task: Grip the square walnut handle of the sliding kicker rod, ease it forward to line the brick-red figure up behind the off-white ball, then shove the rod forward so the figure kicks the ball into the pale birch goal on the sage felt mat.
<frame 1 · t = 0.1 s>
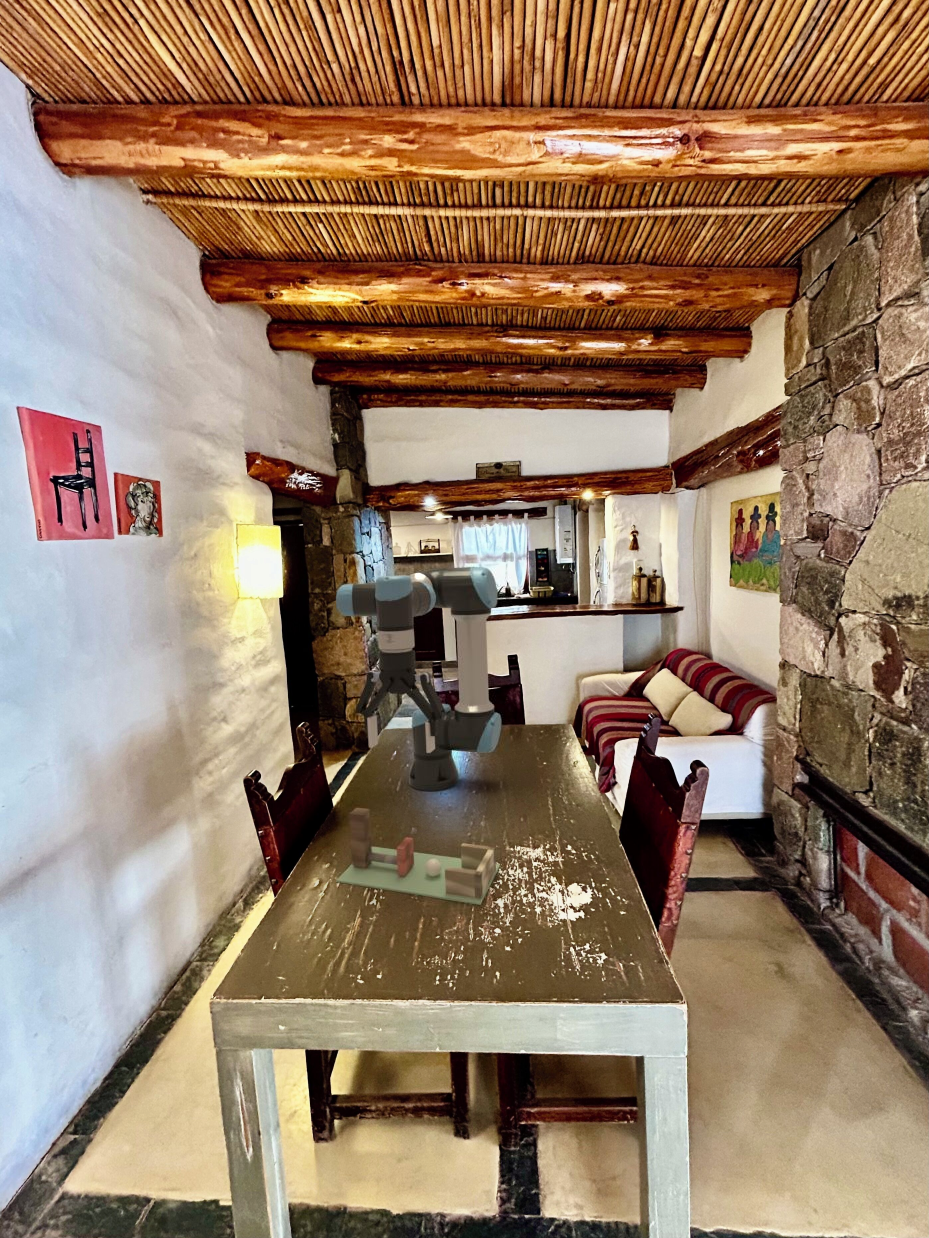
hand: (401, 748, 124), 28 cm above the table, fingers open, 13 cm apart
goal: (471, 882, 122), resting on mat
ball: (433, 867, 124), point 2 cm above the table, touching mat
kicker: (362, 866, 130), resting on mat, slide at 0.0 cm
mat: (419, 873, 126), on the table
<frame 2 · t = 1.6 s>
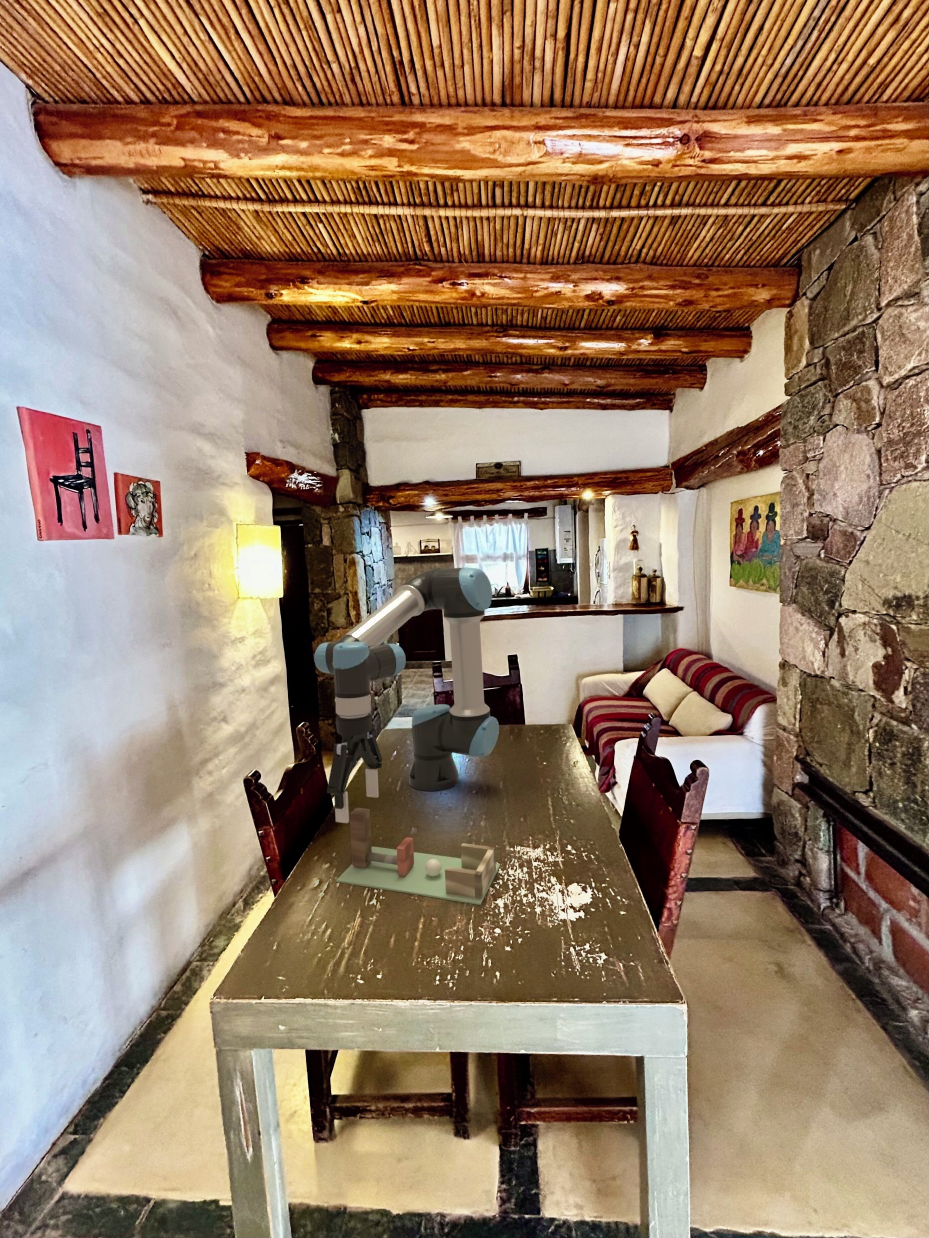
hand: (358, 808, 128), 14 cm above the table, fingers open, 13 cm apart
nothing on the table moved.
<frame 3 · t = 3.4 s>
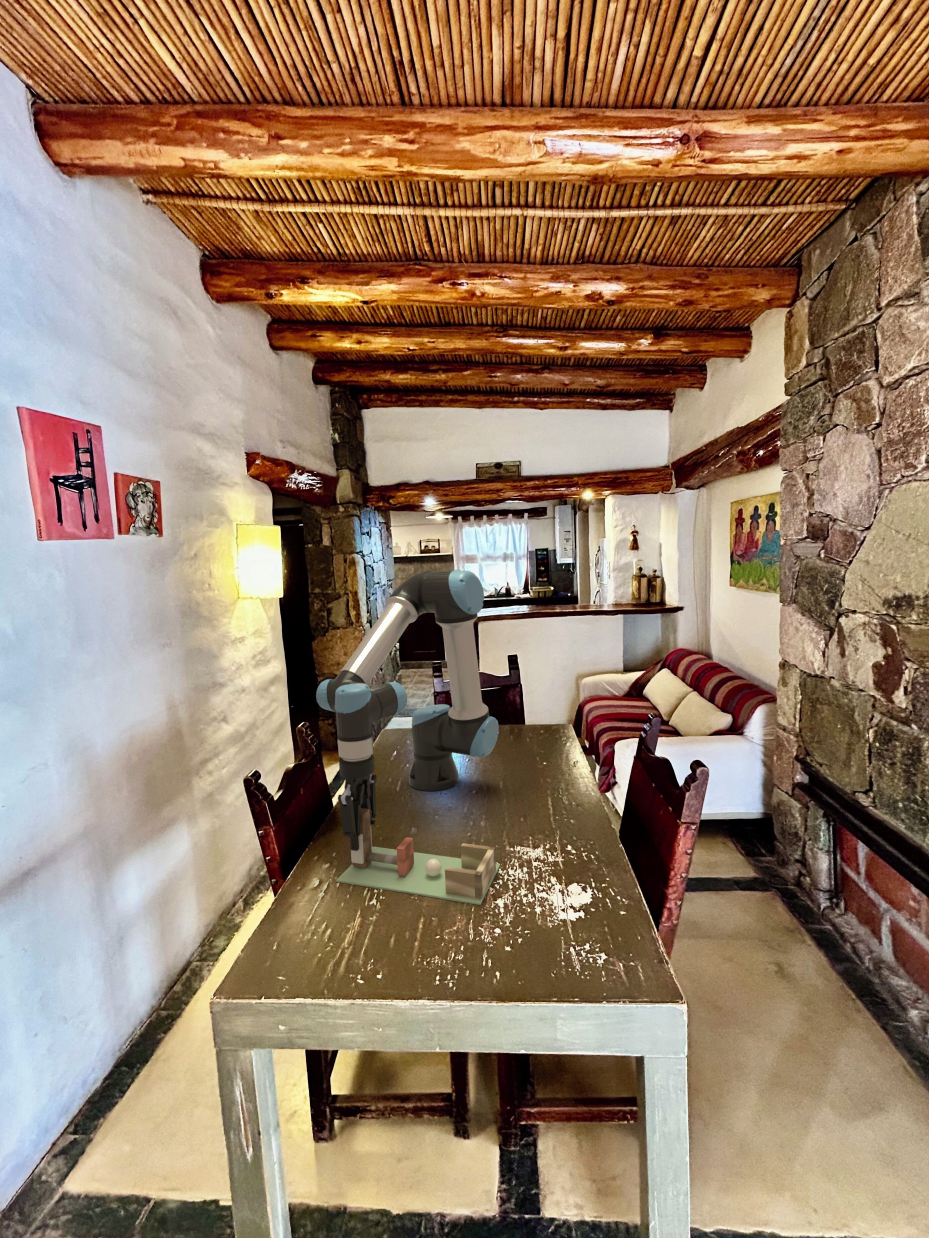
hand: (362, 857, 130), 2 cm above the table, fingers closed on kicker, 3 cm apart
kicker: (362, 866, 130), resting on mat, slide at 0.0 cm, touching gripper
everything else where it was.
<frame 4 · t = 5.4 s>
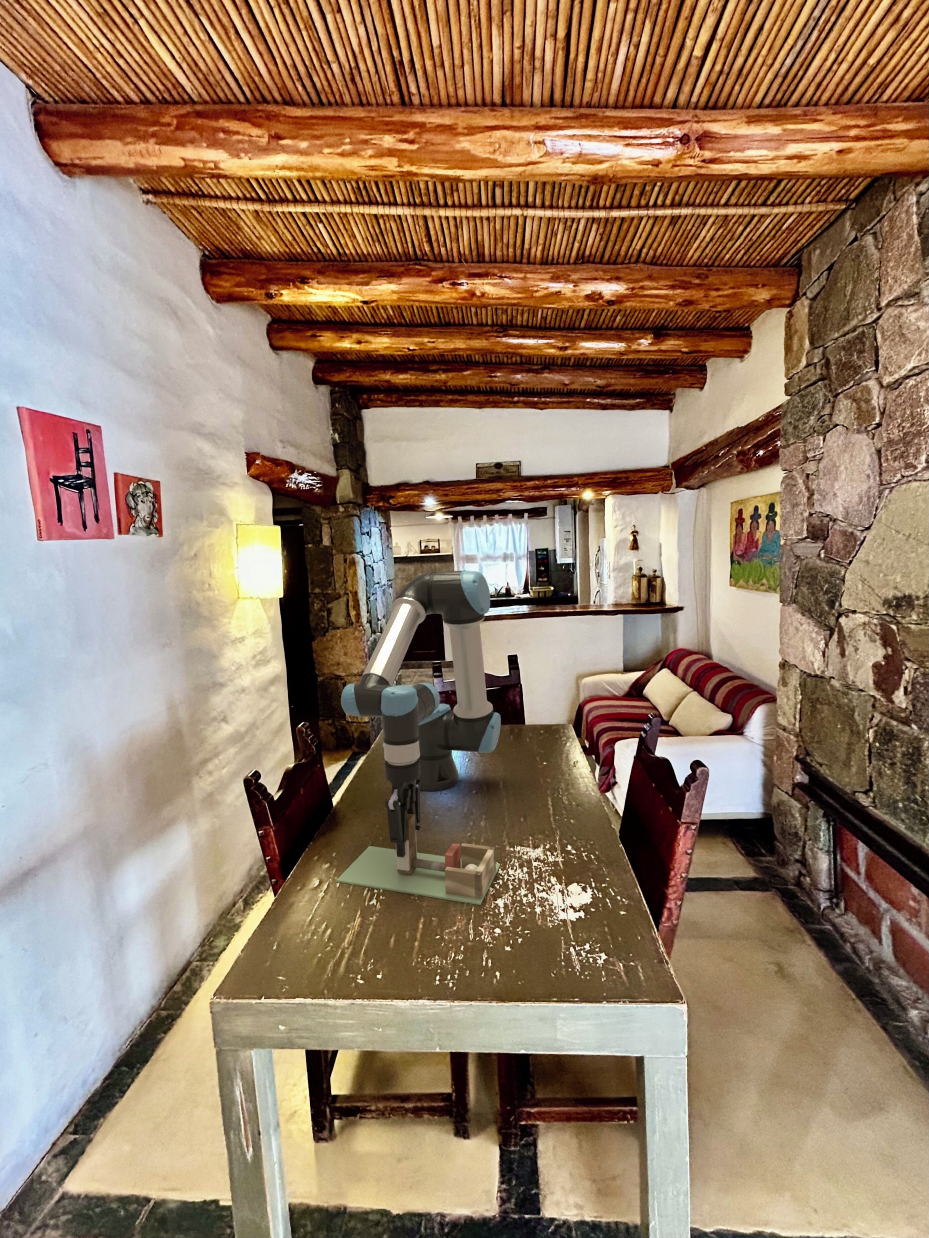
hand: (407, 864, 126), 2 cm above the table, fingers closed on kicker, 3 cm apart
ball: (471, 873, 122), point 2 cm above the table, tilted 91°, touching mat
kicker: (407, 873, 127), resting on mat, slide at 10.9 cm, touching gripper
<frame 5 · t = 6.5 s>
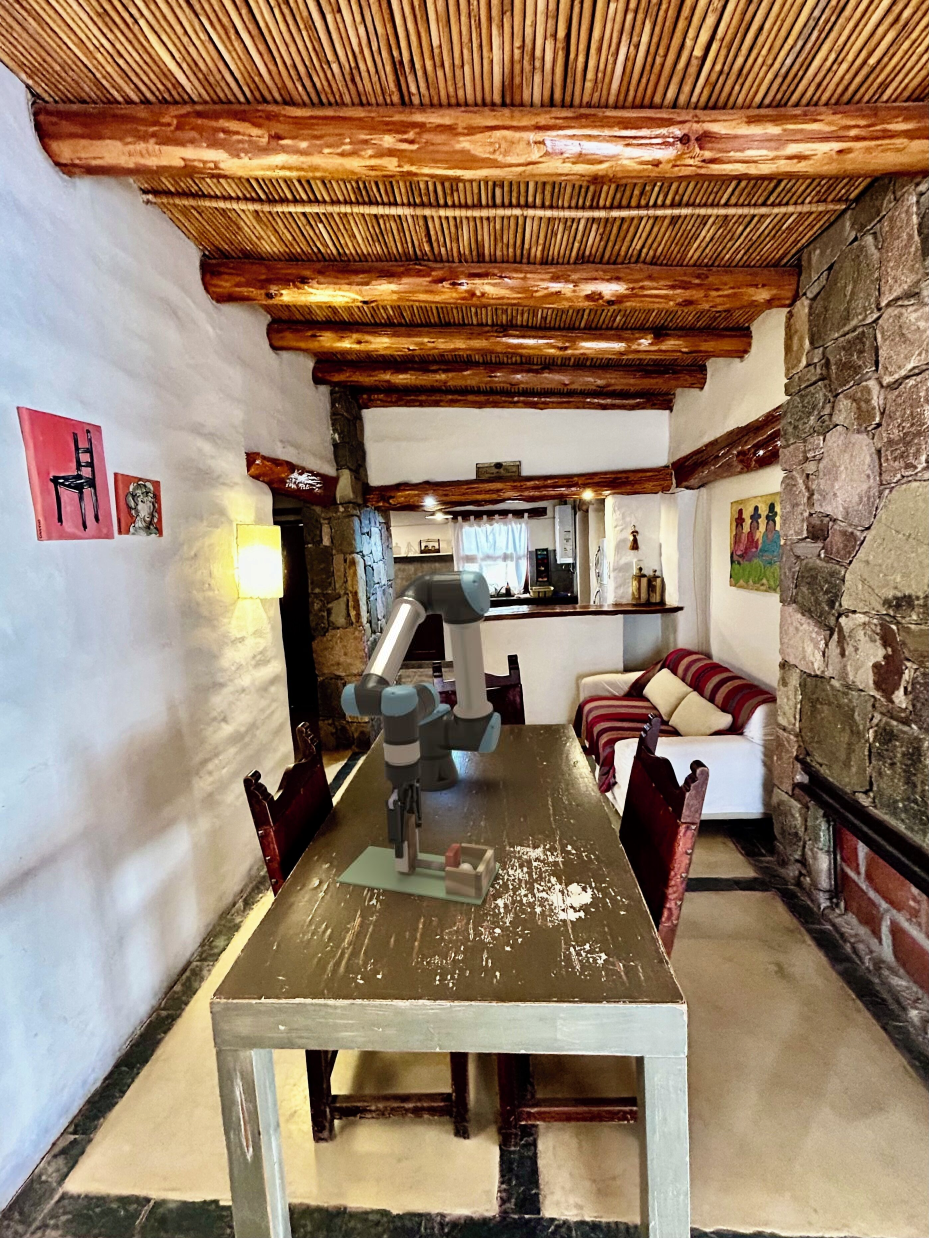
hand: (407, 863, 126), 2 cm above the table, fingers open, 5 cm apart
ball: (465, 872, 122), point 2 cm above the table, tilted 136°, touching mat
kicker: (407, 873, 127), resting on mat, slide at 10.9 cm
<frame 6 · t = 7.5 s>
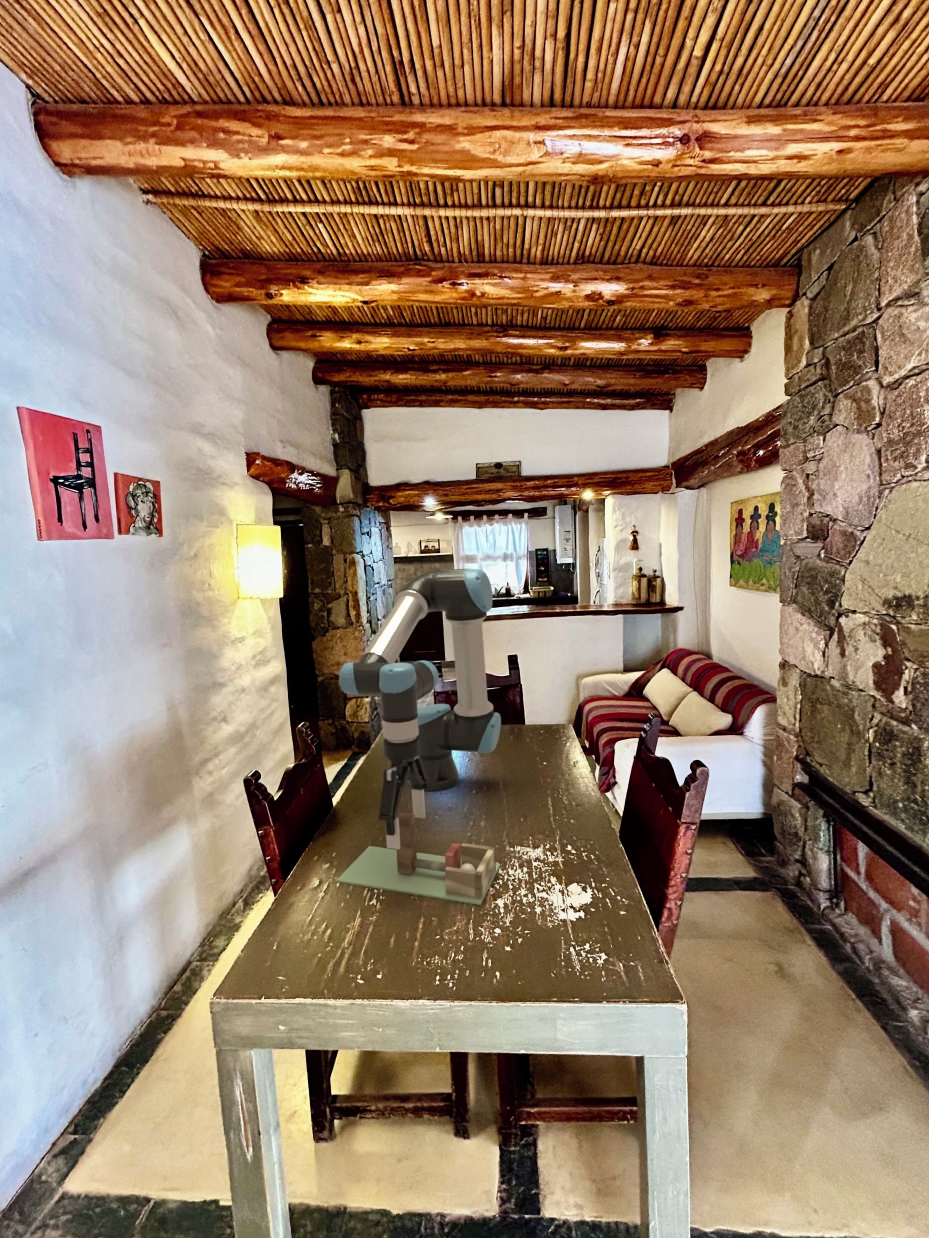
hand: (407, 831, 126), 9 cm above the table, fingers open, 13 cm apart
ball: (467, 872, 122), point 2 cm above the table, tilted 122°, touching mat
everything else where it was.
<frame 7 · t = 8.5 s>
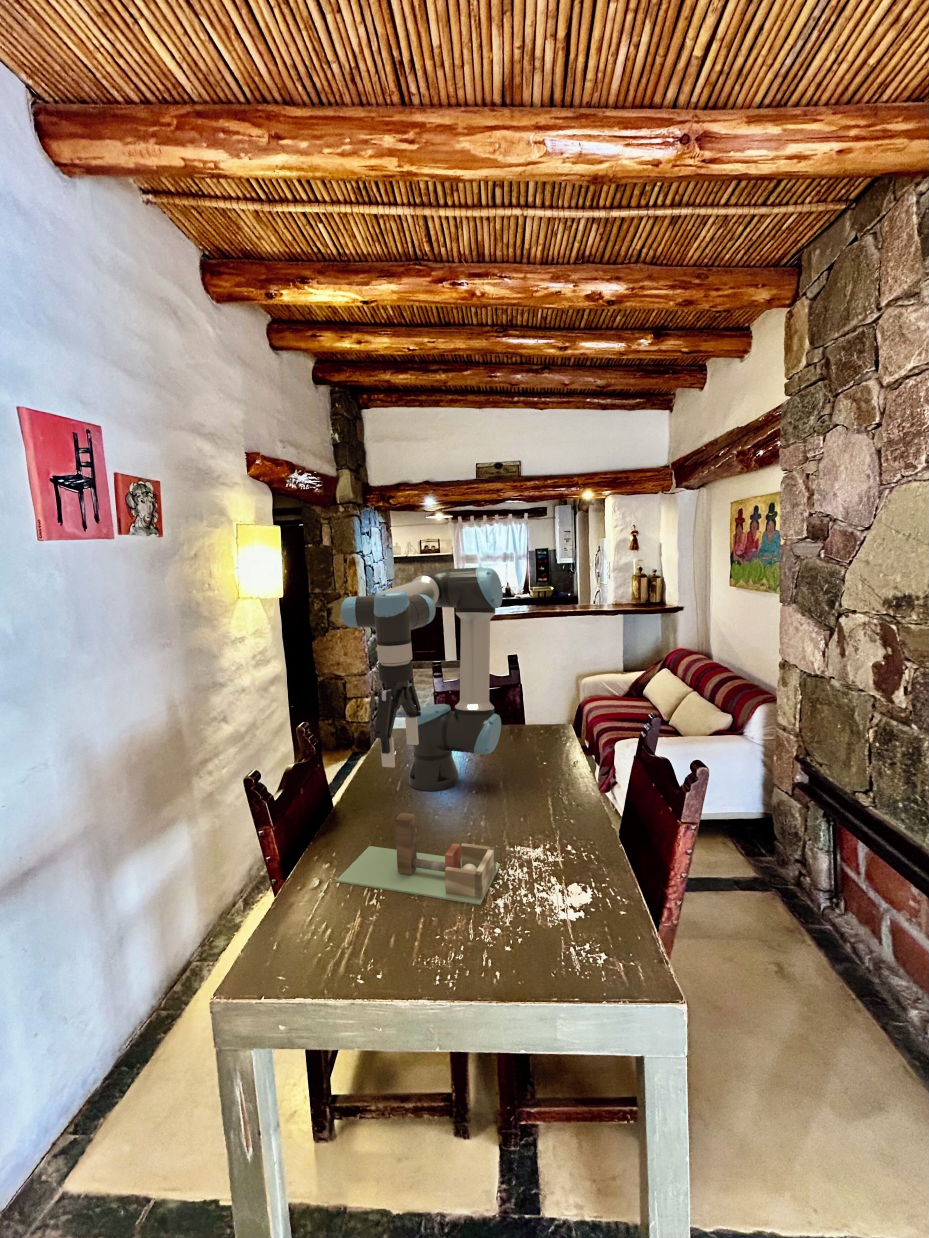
hand: (401, 754, 131), 24 cm above the table, fingers open, 13 cm apart
ball: (469, 872, 122), point 2 cm above the table, tilted 108°, touching mat
everything else where it was.
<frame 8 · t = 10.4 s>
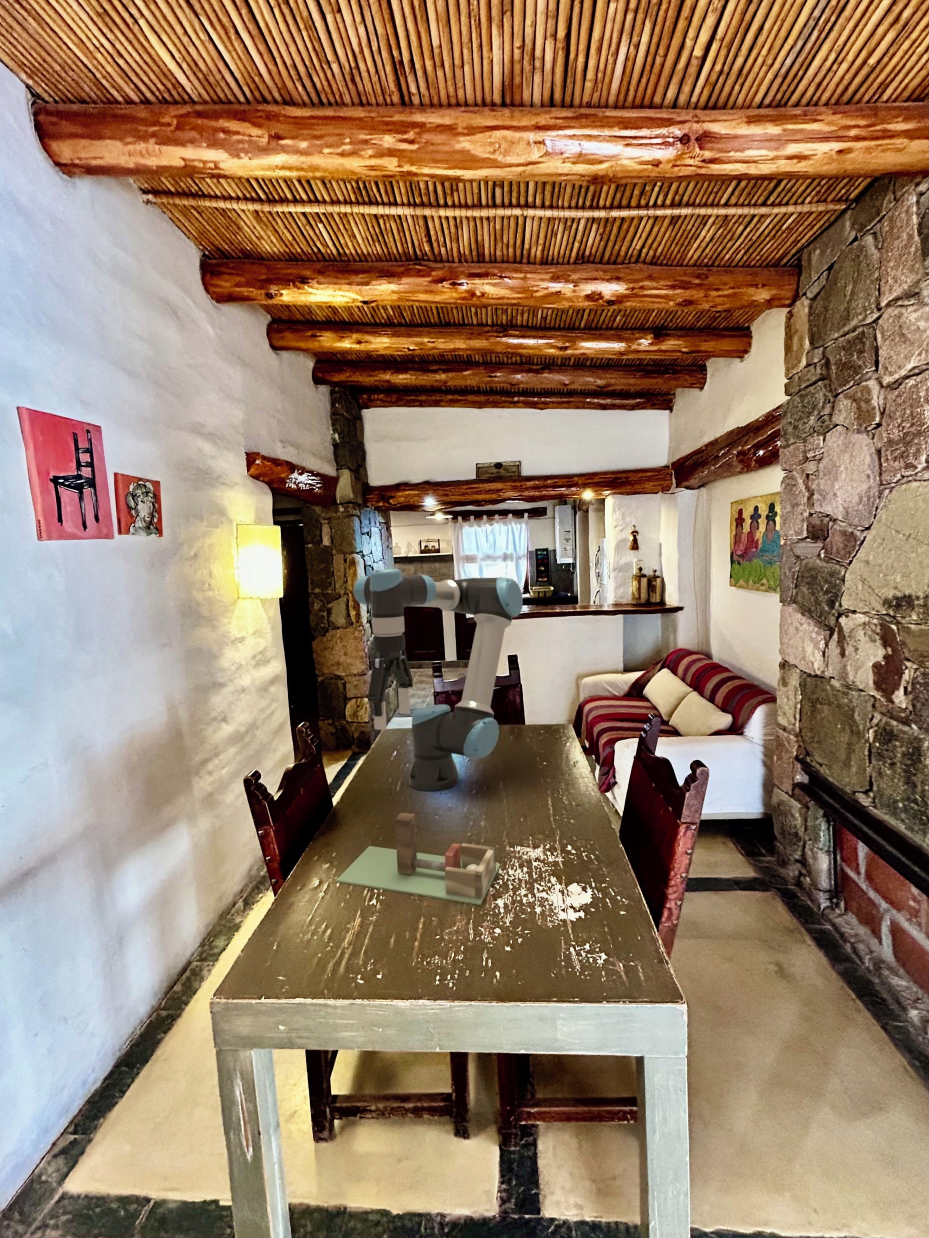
hand: (393, 721, 142), 29 cm above the table, fingers open, 13 cm apart
ball: (473, 873, 122), point 2 cm above the table, tilted 81°, touching mat
everything else where it was.
at the end: ball inside the target area on the goal (1.2 cm from its centre), point 2.1 cm above the goal's base; kicker slide at 10.9 cm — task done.
